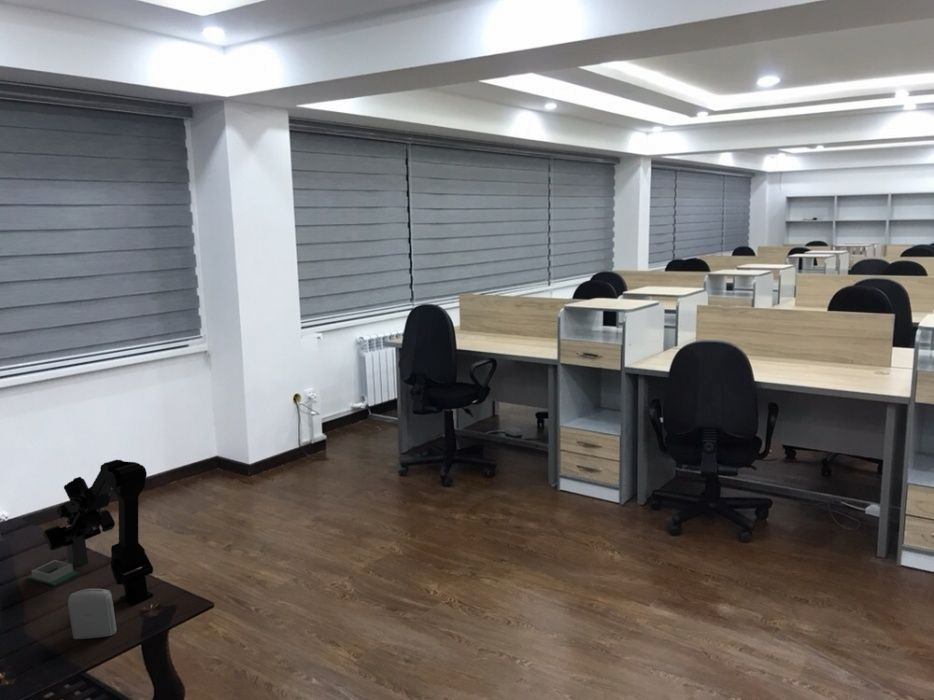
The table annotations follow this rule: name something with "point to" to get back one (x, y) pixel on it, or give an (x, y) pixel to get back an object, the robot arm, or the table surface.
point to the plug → (77, 551)
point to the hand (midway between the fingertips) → (73, 542)
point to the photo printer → (92, 613)
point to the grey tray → (53, 573)
